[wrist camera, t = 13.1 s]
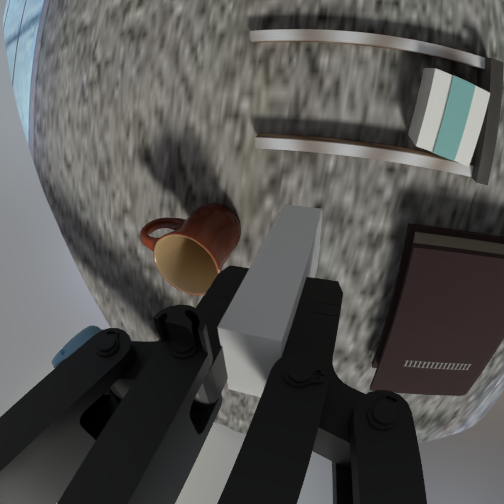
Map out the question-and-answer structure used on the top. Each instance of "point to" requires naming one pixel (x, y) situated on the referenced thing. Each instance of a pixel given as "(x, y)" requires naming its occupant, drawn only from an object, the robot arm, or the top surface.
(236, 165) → the top surface
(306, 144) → the rail board
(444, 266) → the book
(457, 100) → the block
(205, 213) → the mug
